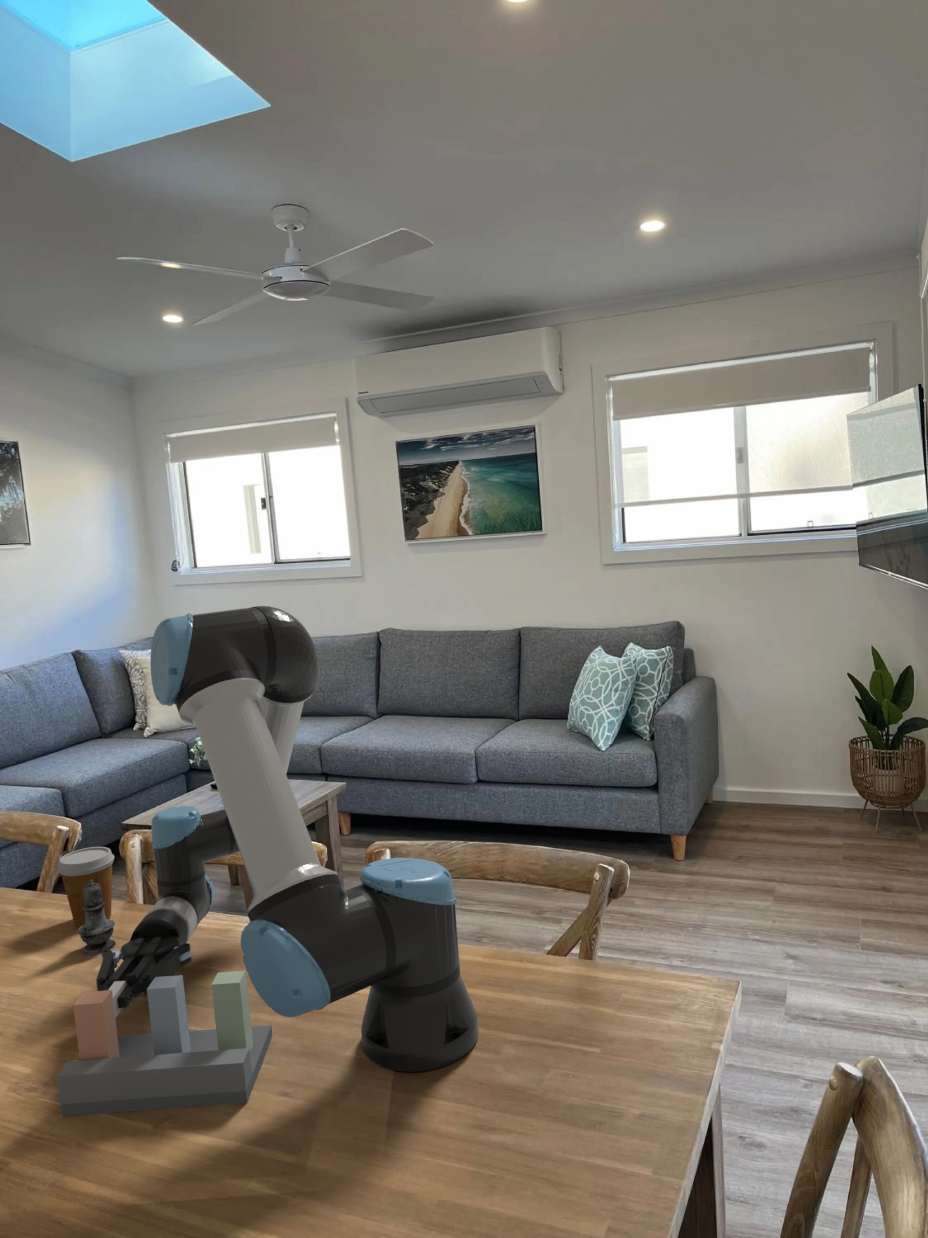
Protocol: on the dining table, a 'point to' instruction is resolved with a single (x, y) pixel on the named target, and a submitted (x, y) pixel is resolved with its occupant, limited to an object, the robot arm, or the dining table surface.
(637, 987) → the dining table surface
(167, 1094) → the dark grey block holder
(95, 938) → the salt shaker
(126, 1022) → the dining table surface
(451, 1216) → the dining table surface
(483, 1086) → the dining table surface
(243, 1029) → the green rectangular block
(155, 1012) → the blue-grey upright block
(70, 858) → the disposable coffee cup
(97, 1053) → the salmon pink block
